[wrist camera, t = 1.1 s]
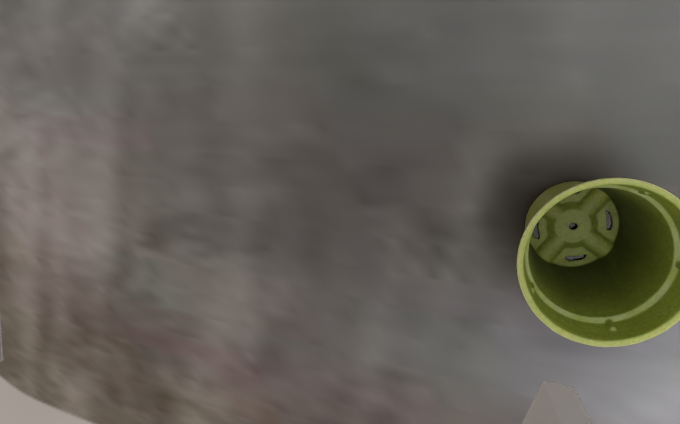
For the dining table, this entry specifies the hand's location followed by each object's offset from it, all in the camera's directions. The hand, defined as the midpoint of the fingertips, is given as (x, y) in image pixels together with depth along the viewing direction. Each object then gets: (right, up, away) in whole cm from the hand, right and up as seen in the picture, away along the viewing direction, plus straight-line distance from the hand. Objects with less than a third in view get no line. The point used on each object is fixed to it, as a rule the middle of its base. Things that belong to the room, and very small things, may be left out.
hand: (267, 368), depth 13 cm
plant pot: (+18, +3, +23) cm, 29 cm away
